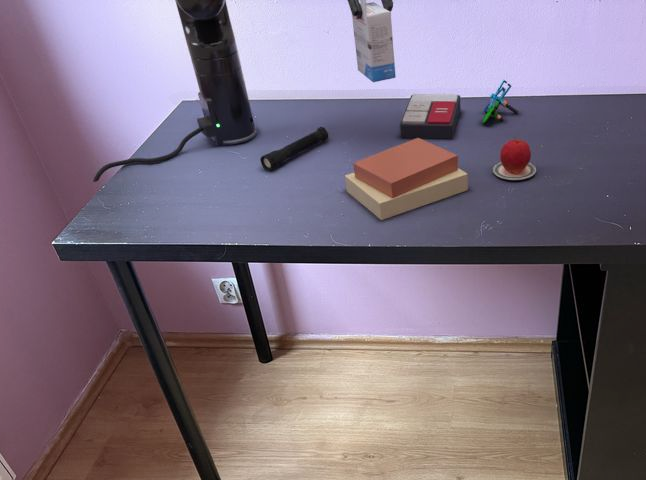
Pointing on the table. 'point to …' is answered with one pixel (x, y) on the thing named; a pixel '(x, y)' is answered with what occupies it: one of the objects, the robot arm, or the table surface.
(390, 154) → the book stack
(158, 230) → the table surface
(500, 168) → the apple
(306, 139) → the flashlight
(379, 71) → the ink box
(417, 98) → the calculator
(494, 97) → the stick construction toy
